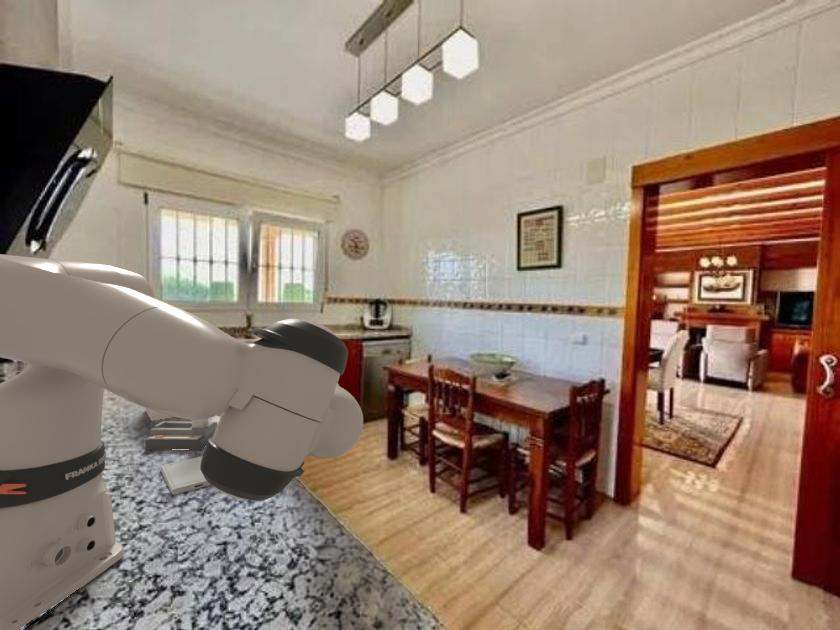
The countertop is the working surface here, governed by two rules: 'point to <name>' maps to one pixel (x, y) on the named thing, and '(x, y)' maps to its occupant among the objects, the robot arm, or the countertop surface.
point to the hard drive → (184, 475)
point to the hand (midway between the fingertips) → (211, 396)
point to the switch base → (179, 436)
